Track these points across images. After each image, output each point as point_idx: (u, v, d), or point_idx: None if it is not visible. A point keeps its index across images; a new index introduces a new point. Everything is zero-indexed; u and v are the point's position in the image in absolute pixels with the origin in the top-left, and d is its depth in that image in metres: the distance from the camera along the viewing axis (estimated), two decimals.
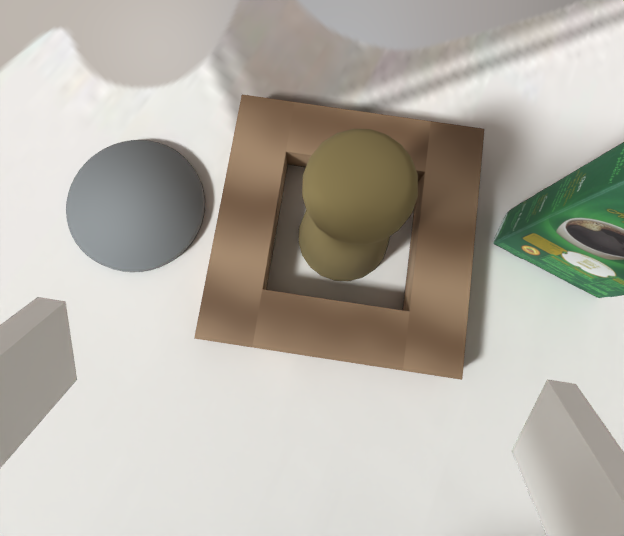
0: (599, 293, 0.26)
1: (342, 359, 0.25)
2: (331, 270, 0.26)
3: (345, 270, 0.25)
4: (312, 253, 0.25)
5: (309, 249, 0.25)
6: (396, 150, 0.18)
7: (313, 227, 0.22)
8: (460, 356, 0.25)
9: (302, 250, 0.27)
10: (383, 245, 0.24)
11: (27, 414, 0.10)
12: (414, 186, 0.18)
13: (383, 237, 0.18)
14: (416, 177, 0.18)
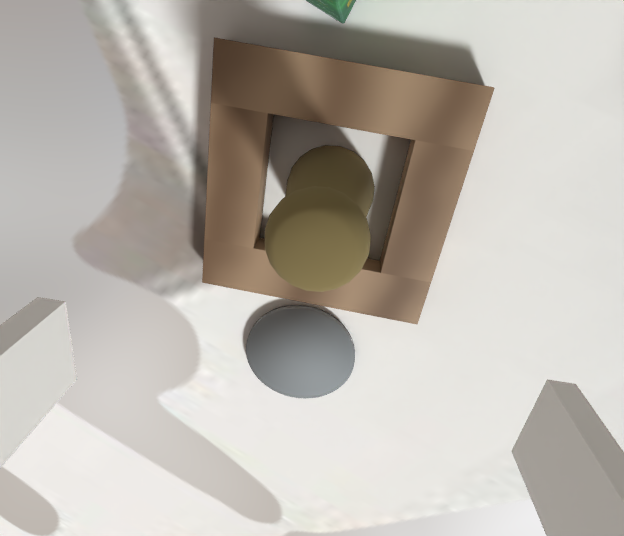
0: None
1: (453, 208, 0.26)
2: None
3: (369, 203, 0.27)
4: None
5: None
6: (290, 222, 0.19)
7: None
8: (469, 87, 0.23)
9: None
10: (352, 176, 0.24)
11: (27, 414, 0.10)
12: (324, 204, 0.19)
13: (367, 225, 0.20)
14: (313, 198, 0.19)
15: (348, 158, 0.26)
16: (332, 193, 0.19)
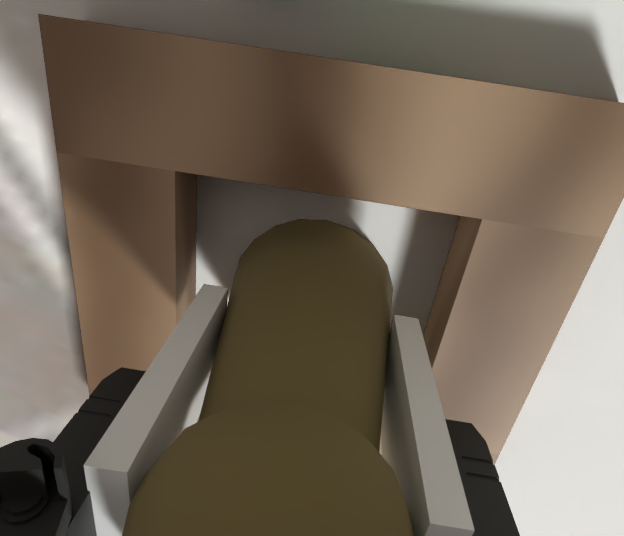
0: None
1: (551, 340, 0.14)
2: None
3: None
4: None
5: None
6: None
7: None
8: (609, 110, 0.11)
9: None
10: (354, 306, 0.11)
11: (206, 383, 0.12)
12: None
13: None
14: (240, 512, 0.06)
15: (344, 252, 0.13)
16: (303, 470, 0.06)
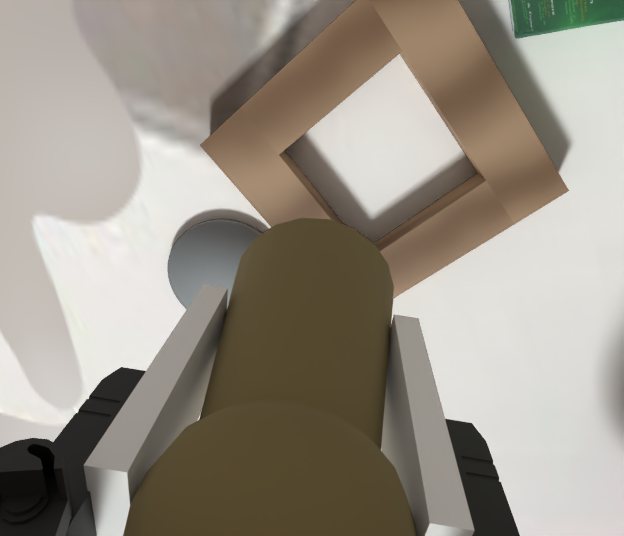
0: None
1: (462, 254, 0.28)
2: None
3: None
4: None
5: None
6: None
7: None
8: (555, 175, 0.25)
9: None
10: (355, 305, 0.11)
11: (206, 383, 0.12)
12: None
13: (412, 535, 0.07)
14: (242, 510, 0.06)
15: (345, 250, 0.13)
16: (305, 469, 0.06)
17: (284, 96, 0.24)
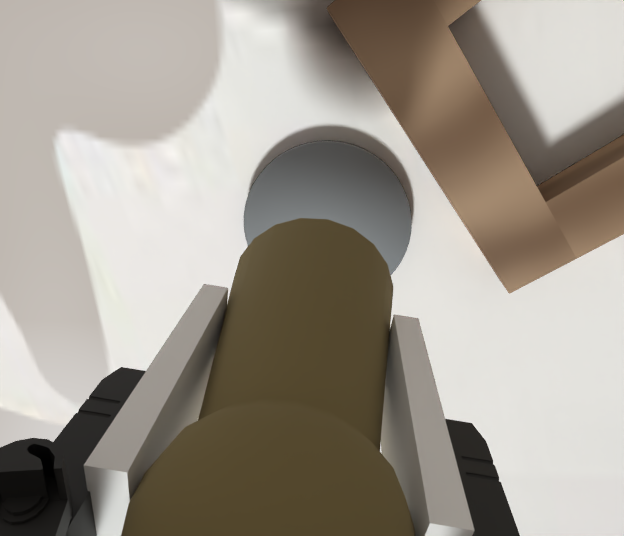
0: None
1: None
2: None
3: None
4: None
5: None
6: None
7: None
8: None
9: None
10: (354, 305, 0.11)
11: (206, 383, 0.12)
12: None
13: None
14: (240, 510, 0.06)
15: (344, 250, 0.13)
16: (303, 469, 0.06)
17: None
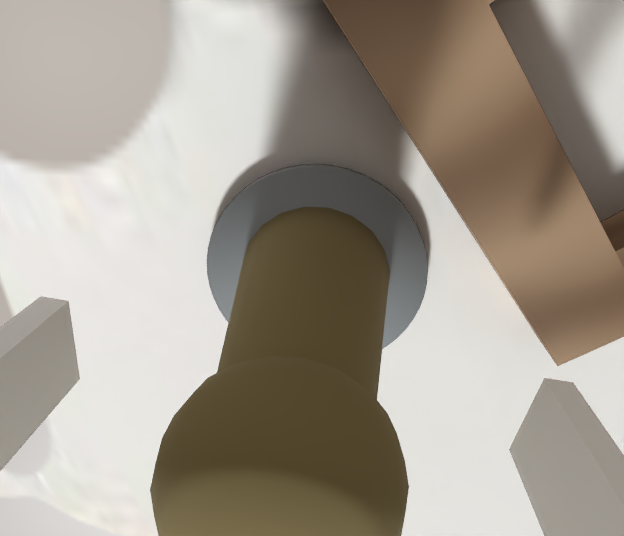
0: None
1: None
2: None
3: None
4: None
5: None
6: (200, 496, 0.07)
7: None
8: None
9: None
10: (354, 282, 0.13)
11: (30, 413, 0.10)
12: (288, 452, 0.07)
13: (400, 464, 0.08)
14: (260, 432, 0.07)
15: (344, 235, 0.14)
16: (311, 403, 0.07)
17: None
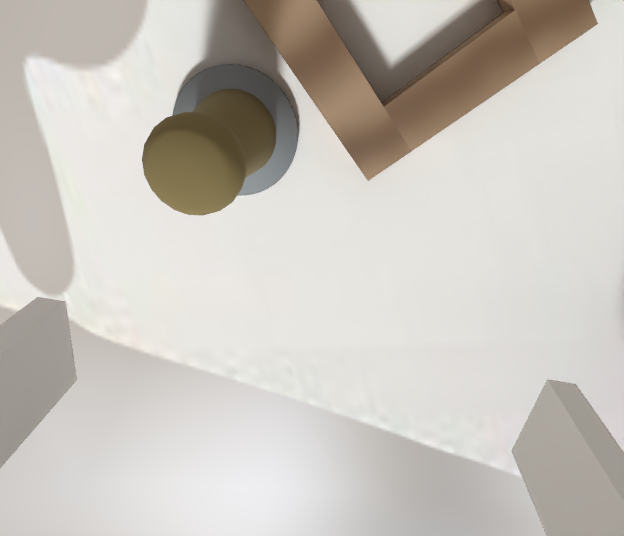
0: None
1: (484, 99, 0.27)
2: (267, 152, 0.29)
3: (266, 142, 0.28)
4: (253, 172, 0.29)
5: None
6: (160, 143, 0.20)
7: None
8: (585, 5, 0.24)
9: None
10: (241, 112, 0.25)
11: (26, 414, 0.10)
12: (190, 124, 0.20)
13: (238, 147, 0.21)
14: (181, 120, 0.20)
15: (243, 98, 0.27)
16: (201, 116, 0.20)
17: None
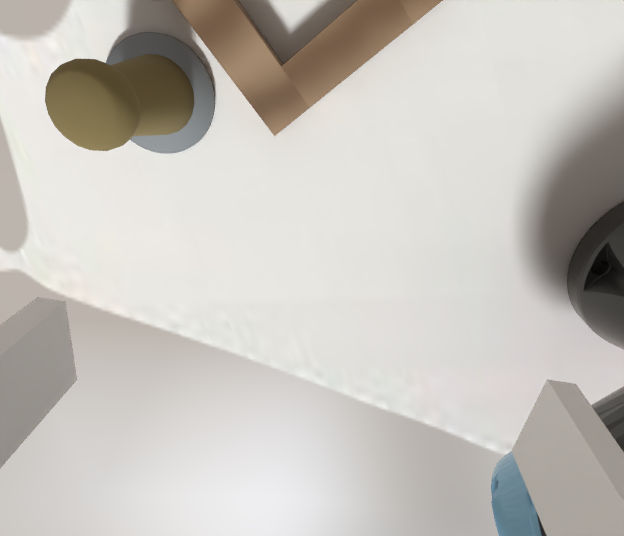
0: None
1: (368, 58, 0.30)
2: (182, 110, 0.32)
3: (179, 99, 0.31)
4: (169, 127, 0.32)
5: (166, 129, 0.32)
6: (55, 82, 0.24)
7: (141, 133, 0.29)
8: None
9: (172, 132, 0.34)
10: (149, 69, 0.29)
11: (26, 414, 0.10)
12: (80, 66, 0.23)
13: (126, 88, 0.25)
14: (73, 63, 0.24)
15: (157, 60, 0.31)
16: (92, 60, 0.24)
17: None
